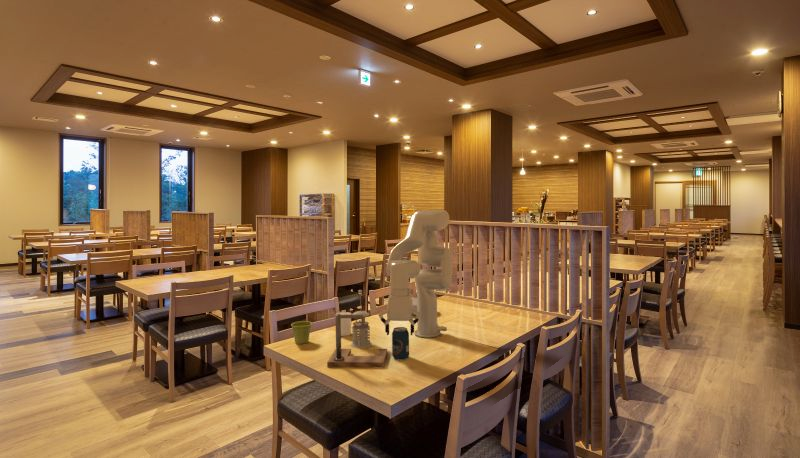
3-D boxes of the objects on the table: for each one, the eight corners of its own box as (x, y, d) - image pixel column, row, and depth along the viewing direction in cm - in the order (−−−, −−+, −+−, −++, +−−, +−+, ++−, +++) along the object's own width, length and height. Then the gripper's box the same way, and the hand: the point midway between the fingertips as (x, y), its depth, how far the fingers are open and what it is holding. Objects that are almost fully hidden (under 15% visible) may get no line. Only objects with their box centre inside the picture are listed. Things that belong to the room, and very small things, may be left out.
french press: (374, 341, 200) (373, 287, 198) (367, 350, 188) (366, 292, 187) (354, 340, 202) (353, 287, 200) (346, 348, 190) (344, 292, 189)
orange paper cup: (348, 336, 208) (348, 316, 208) (333, 336, 210) (332, 315, 209) (353, 332, 216) (353, 312, 215) (338, 331, 217) (338, 311, 217)
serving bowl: (432, 317, 243) (432, 305, 243) (395, 317, 243) (395, 305, 243) (430, 308, 264) (430, 297, 263) (396, 308, 264) (395, 297, 264)
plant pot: (316, 340, 204) (315, 321, 203) (305, 346, 195) (304, 327, 194) (298, 338, 207) (298, 320, 206) (287, 344, 198) (287, 325, 197)
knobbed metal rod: (366, 357, 173) (365, 313, 172) (364, 361, 169) (363, 315, 168) (335, 357, 173) (333, 313, 173) (332, 361, 169) (331, 315, 169)
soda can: (389, 358, 177) (388, 329, 176) (398, 353, 183) (397, 325, 182) (403, 361, 173) (403, 332, 173) (412, 356, 179) (411, 327, 178)
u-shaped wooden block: (387, 353, 183) (387, 348, 183) (383, 367, 167) (383, 362, 167) (335, 353, 185) (335, 348, 185) (327, 367, 169) (327, 362, 169)
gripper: (421, 291, 180) (421, 332, 180) (379, 290, 181) (379, 331, 181) (420, 294, 172) (420, 337, 173) (377, 293, 173) (377, 336, 174)
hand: (399, 334), depth 177 cm, fingers open, 9 cm apart
